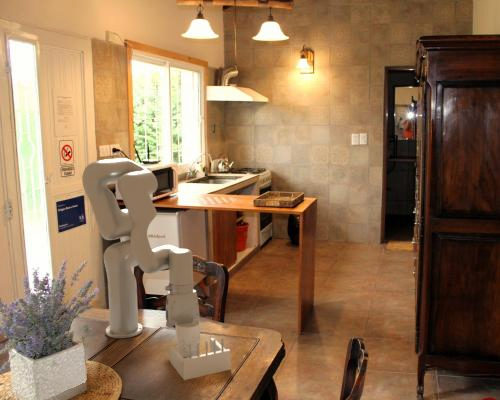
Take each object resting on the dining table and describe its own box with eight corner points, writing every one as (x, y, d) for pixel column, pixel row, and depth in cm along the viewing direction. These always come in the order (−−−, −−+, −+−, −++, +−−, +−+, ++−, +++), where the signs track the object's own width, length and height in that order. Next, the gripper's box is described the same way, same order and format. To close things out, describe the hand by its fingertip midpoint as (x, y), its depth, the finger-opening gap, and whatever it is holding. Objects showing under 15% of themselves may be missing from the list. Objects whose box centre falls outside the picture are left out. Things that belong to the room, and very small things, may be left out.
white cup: (197, 359, 167) (196, 328, 165) (172, 357, 168) (171, 326, 167) (203, 348, 175) (203, 318, 173) (180, 347, 176) (179, 317, 174)
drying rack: (170, 362, 165) (169, 330, 164) (213, 352, 171) (213, 322, 170) (184, 380, 154) (183, 346, 152) (230, 369, 160) (230, 337, 159)
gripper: (162, 294, 166) (164, 351, 169) (207, 287, 173) (208, 341, 176) (155, 287, 173) (157, 342, 176) (199, 281, 180) (200, 333, 182)
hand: (182, 341), depth 176 cm, fingers closed
